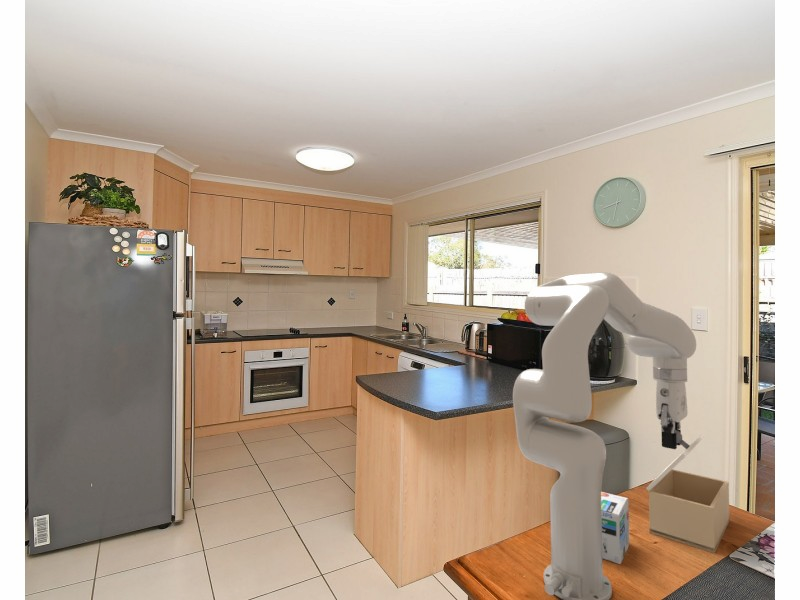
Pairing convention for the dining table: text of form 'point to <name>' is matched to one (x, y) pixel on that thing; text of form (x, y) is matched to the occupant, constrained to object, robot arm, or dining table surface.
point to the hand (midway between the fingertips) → (671, 445)
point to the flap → (679, 458)
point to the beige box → (690, 509)
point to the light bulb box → (614, 527)
